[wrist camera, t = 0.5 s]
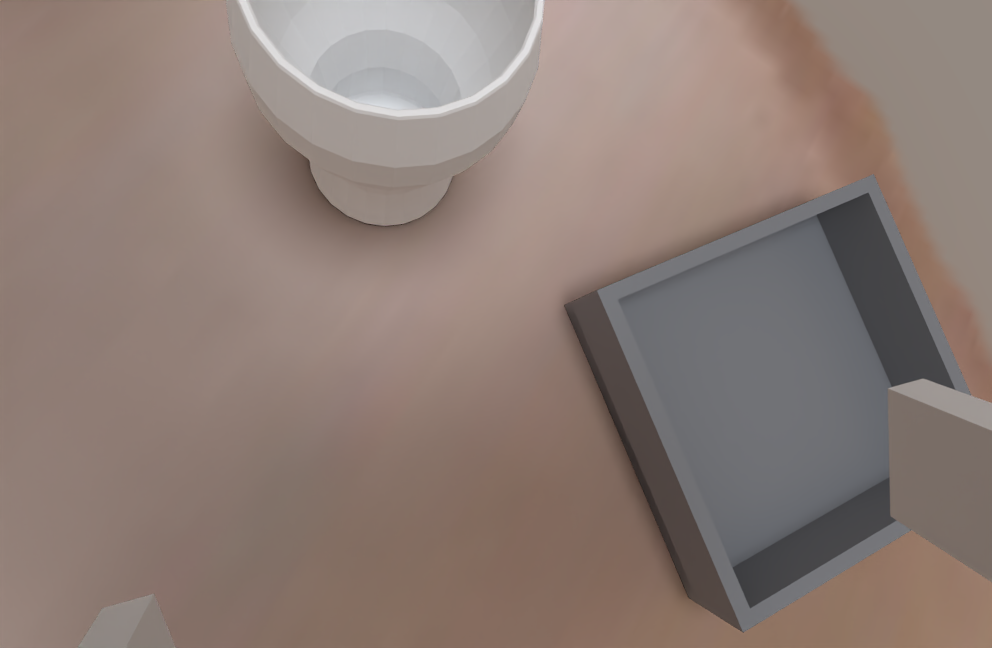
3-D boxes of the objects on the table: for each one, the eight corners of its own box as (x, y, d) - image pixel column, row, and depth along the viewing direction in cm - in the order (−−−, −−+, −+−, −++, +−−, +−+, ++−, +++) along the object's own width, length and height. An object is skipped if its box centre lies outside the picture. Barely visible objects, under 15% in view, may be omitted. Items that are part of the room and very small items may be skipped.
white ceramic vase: (345, 27, 33) (327, -259, 19) (512, 129, 35) (617, -64, 20) (240, 186, 31) (128, 4, 17) (422, 289, 33) (466, 203, 18)
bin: (564, 305, 34) (596, 290, 29) (809, 202, 38) (873, 174, 33) (689, 598, 34) (743, 632, 29) (923, 462, 38) (1005, 472, 33)
